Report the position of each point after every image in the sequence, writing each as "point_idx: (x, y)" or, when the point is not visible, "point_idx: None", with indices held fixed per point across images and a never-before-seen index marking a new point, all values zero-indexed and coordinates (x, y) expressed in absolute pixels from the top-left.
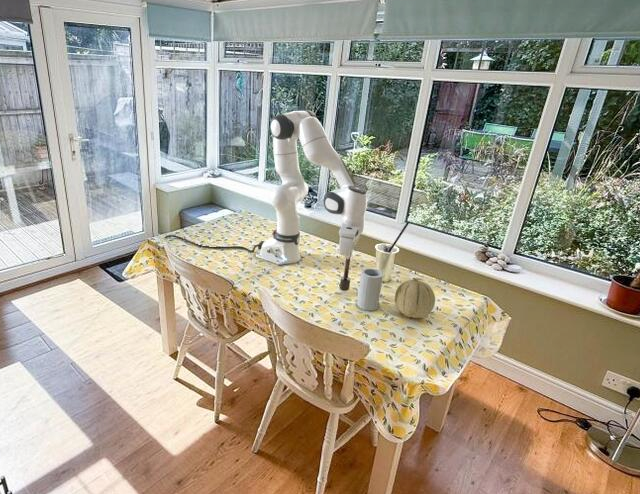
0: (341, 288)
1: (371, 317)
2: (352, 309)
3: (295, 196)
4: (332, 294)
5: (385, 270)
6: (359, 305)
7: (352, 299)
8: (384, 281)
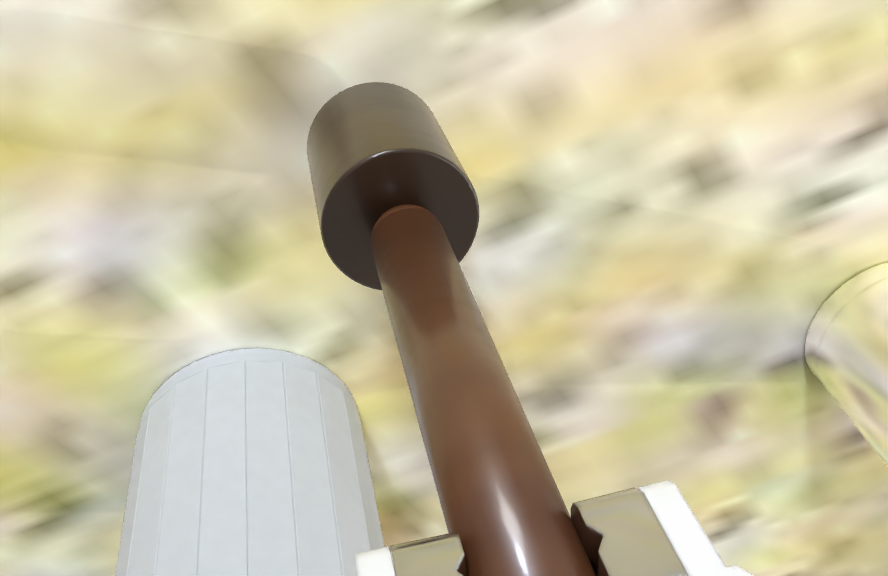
0: (310, 141)
1: (63, 541)
2: (47, 371)
3: None
4: (190, 30)
5: (885, 461)
6: (146, 416)
7: (257, 283)
8: (809, 368)
